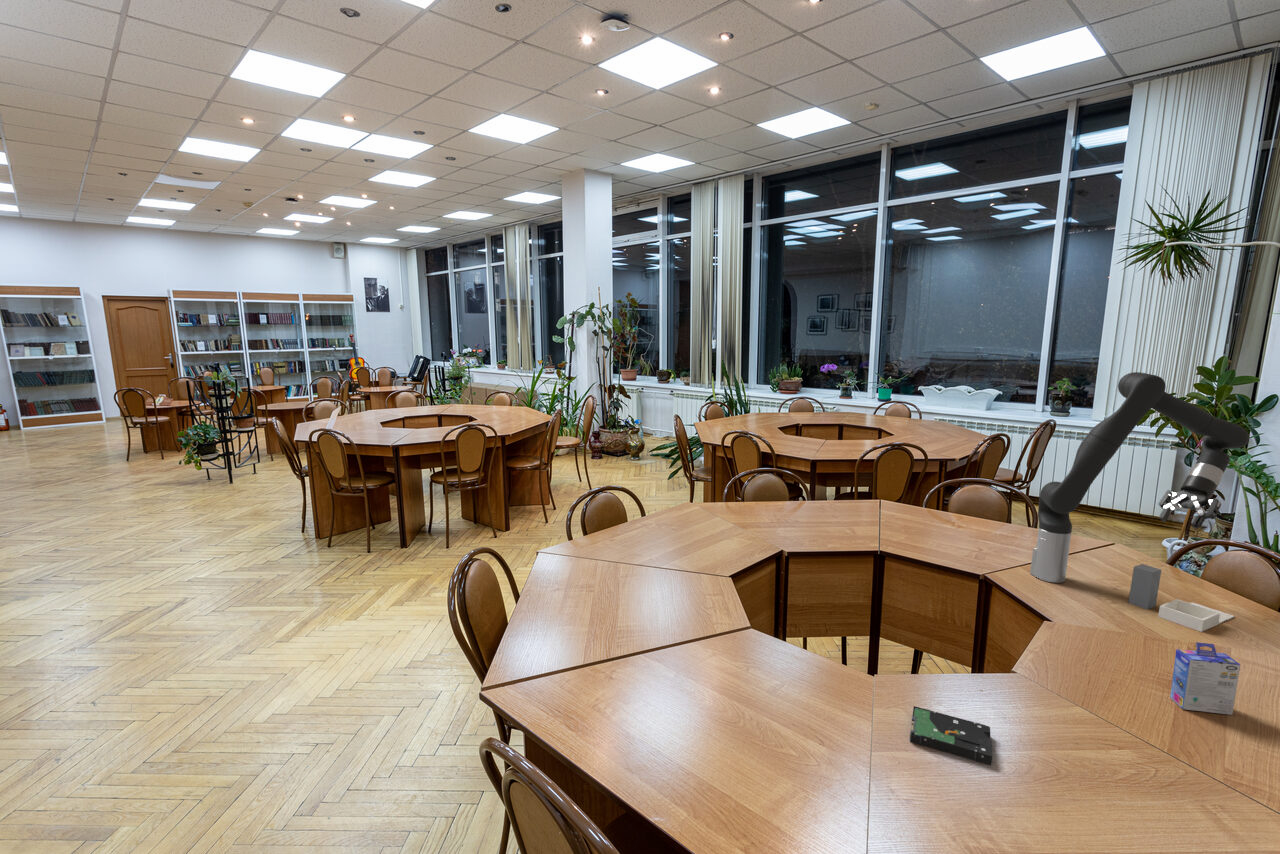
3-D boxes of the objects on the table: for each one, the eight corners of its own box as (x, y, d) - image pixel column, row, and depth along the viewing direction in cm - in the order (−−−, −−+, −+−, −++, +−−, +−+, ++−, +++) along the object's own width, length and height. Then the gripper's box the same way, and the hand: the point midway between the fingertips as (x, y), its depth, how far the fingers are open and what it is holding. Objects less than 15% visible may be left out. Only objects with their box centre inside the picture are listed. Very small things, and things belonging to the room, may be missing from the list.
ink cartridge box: (1216, 701, 140) (1226, 643, 138) (1234, 716, 135) (1245, 655, 132) (1167, 695, 142) (1176, 638, 139) (1182, 710, 136) (1193, 650, 134)
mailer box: (1158, 616, 181) (1160, 605, 181) (1191, 603, 190) (1193, 592, 190) (1201, 631, 172) (1203, 620, 172) (1234, 617, 181) (1236, 606, 181)
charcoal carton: (1128, 602, 190) (1133, 566, 188) (1136, 599, 192) (1142, 563, 190) (1147, 609, 186) (1153, 572, 184) (1155, 606, 188) (1161, 569, 186)
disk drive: (988, 737, 128) (911, 716, 134) (990, 725, 127) (912, 704, 134) (991, 769, 118) (909, 744, 125) (993, 756, 118) (910, 732, 124)
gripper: (1170, 470, 197) (1147, 512, 195) (1224, 478, 183) (1199, 523, 182) (1181, 482, 199) (1158, 524, 198) (1235, 491, 186) (1211, 536, 184)
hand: (1178, 523), depth 190 cm, fingers open, 8 cm apart
